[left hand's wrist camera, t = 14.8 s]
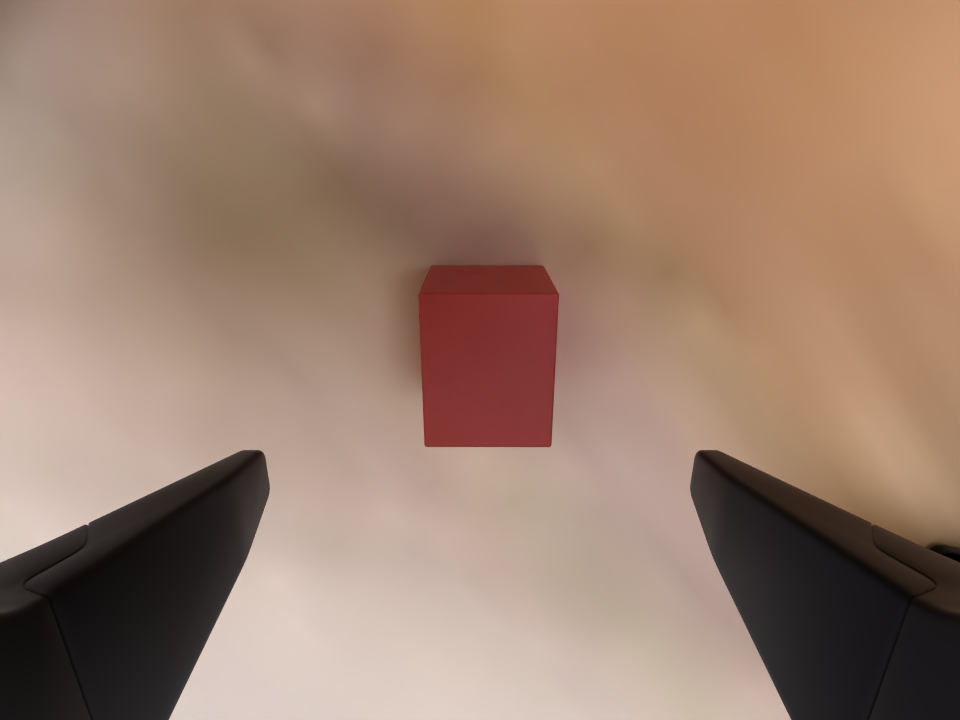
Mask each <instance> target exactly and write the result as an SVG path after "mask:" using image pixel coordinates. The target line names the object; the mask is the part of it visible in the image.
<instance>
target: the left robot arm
mask: <svg viewBox="0 0 960 720" xmlns="http://www.w3.org/2000/svg"><path fill="white" fill-rule="evenodd" d="M269 490H270V485H269V478H268V472H267V465H266V459H265V455H264V453H263V452H262V451H259V450H243V451H240V452H238V453H236V454H233V455H231V456H229V457H227V458H225V459H223V460H221V461H219V462H217V463H214V464H212V465H210V466H208V467H206V468H204V469H202V470H200V471H198V472H195V473H193V474H191V475H189V476H187V477H185V478H183V479H181V480H179V481H176V482H174V483H172V484H170V485H168V486H166V487H164V488H162V489H160V490H157V491H155V492H153V493H151V494H149V495H147V496H145V497H143V498H141V499H138V500H136V501H134V502H132V503H130V504H128V505H126V506H124V507H122V508H119V509H117V510H115V511H113V512H111V513H109V514H107V515H105V516H103V517H100V518H98V519H96V520H94V521H92V522H90V523H89V525H83V526H81V527H79V528H77V529H75V530H73V531H71V532H69V533H66V534H64V535H62V536H60V537H58V538H56V539H53V540H51V541H49V542H47V543H45V544H42V545H40V546H38V547H36V548H33V549H31V550H29V551H26V552H24V553H22V554H19V555H17V556H15V557H13V558H10V559H8V560H6V561H3V562H1V563H0V720H169V718H170V716H171V714H172V712H173V710H174V708H175V706H176V704H177V701H178V699H179V697H180V695H181V693H182V691H183V689H184V687H185V685H186V683H187V681H188V679H189V677H190V675H191V673H192V671H193V668H194V666H195V664H196V662H197V660H198V658H199V656H200V654H201V652H202V650H203V648H204V646H205V644H206V642H207V640H208V638H209V636H210V633H211V631H212V629H213V627H214V625H215V623H216V621H217V619H218V617H219V615H220V613H221V611H222V609H223V607H224V605H225V603H226V600H227V598H228V596H229V594H230V592H231V590H232V588H233V586H234V584H235V582H236V580H237V578H238V576H239V574H240V572H241V570H242V567H243V565H244V563H245V561H246V559H247V556H248V554H249V551H250V548H251V545H252V543H253V540H254V537H255V534H256V531H257V528H258V525H259V522H260V519H261V517H262V514H263V511H264V508H265V505H266V502H267V499H268V496H269ZM690 490H691V496H692V499H693V502H694V505H695V508H696V511H697V514H698V517H699V519H700V522H701V525H702V528H703V531H704V534H705V537H706V540H707V543H708V545H709V548H710V551H711V554H712V556H713V559H714V561H715V563H716V565H717V567H718V570H719V572H720V574H721V576H722V578H723V580H724V582H725V584H726V586H727V588H728V590H729V592H730V594H731V596H732V598H733V600H734V603H735V605H736V607H737V609H738V611H739V613H740V615H741V617H742V619H743V621H744V623H745V625H746V627H747V629H748V631H749V633H750V636H751V638H752V640H753V642H754V644H755V646H756V648H757V650H758V652H759V654H760V656H761V658H762V660H763V662H764V664H765V666H766V668H767V671H768V673H769V675H770V677H771V679H772V681H773V683H774V685H775V687H776V689H777V691H778V693H779V695H780V697H781V699H782V701H783V704H784V706H785V708H786V710H787V712H788V714H789V716H790V718H791V720H960V549H957V548H953V547H949V546H944V545H939V546H935V547H933V548H932V549H930V550H929V549H927V548H924V547H922V546H920V545H918V544H915V543H913V542H911V541H909V540H907V539H904V538H902V537H900V536H898V535H896V534H894V533H891V532H889V531H887V530H885V529H883V528H881V527H879V526H877V525H871V523H870V522H868V521H866V520H864V519H862V518H860V517H857V516H855V515H853V514H851V513H849V512H847V511H845V510H843V509H841V508H838V507H836V506H834V505H832V504H830V503H828V502H826V501H824V500H822V499H819V498H817V497H815V496H813V495H811V494H809V493H807V492H805V491H803V490H800V489H798V488H796V487H794V486H792V485H790V484H788V483H786V482H784V481H781V480H779V479H777V478H775V477H773V476H771V475H769V474H767V473H765V472H762V471H760V470H758V469H756V468H754V467H752V466H750V465H748V464H746V463H743V462H741V461H739V460H737V459H735V458H733V457H731V456H729V455H727V454H724V453H722V452H720V451H717V450H700V451H698V452H697V453H696V455H695V459H694V465H693V472H692V478H691V485H690Z"/></svg>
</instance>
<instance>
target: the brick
mask: <svg viewBox="0 0 960 720" xmlns="http://www.w3.org/2000/svg"><path fill="white" fill-rule="evenodd" d="M558 303H559V294H558V292H557V290H556V288H555V286H554V284H553V283H552V281H551V279H550V277H549V275H548V273H547V271H546V270H545V268H544V266H431V268H430V270H429V272H428V275H427V277H426V279H425V281H424V284H423V286H422V288H421V290H420V293H419V319H420V344H421V369H422V393H423V418H424V443H425V446H426V447H550V446H551V441H552V421H553V402H554V382H555V362H556V343H557V323H558Z"/></svg>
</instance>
